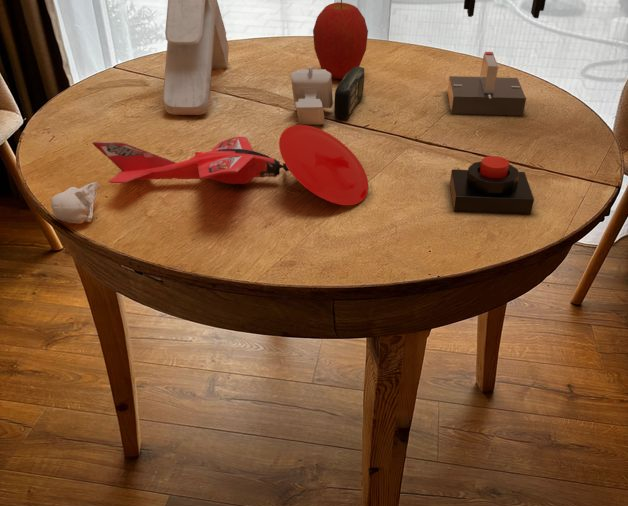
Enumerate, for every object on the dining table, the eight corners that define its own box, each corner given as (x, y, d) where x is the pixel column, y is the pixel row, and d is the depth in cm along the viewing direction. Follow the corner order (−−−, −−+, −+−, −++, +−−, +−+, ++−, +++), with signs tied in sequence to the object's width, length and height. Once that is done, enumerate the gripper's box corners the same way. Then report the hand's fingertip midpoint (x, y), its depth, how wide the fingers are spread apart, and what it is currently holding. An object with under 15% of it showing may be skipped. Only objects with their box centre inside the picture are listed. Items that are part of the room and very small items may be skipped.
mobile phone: (350, 92, 108) (368, 60, 119) (332, 90, 109) (352, 59, 120) (349, 121, 112) (367, 88, 122) (332, 120, 112) (351, 87, 123)
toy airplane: (302, 210, 83) (304, 169, 81) (75, 205, 79) (70, 162, 77) (283, 168, 107) (284, 135, 105) (107, 162, 103) (104, 128, 101)
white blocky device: (290, 56, 108) (285, 96, 105) (331, 56, 108) (328, 96, 104) (296, 97, 117) (291, 136, 113) (334, 98, 116) (331, 136, 112)
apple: (303, 73, 130) (302, -6, 121) (346, 64, 134) (349, -13, 125) (331, 90, 123) (332, 7, 114) (376, 80, 127) (381, -1, 118)
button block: (521, 186, 94) (527, 159, 91) (530, 214, 88) (537, 186, 85) (449, 183, 95) (453, 156, 92) (453, 211, 89) (457, 183, 86)
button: (505, 168, 90) (507, 156, 89) (508, 180, 88) (511, 168, 86) (478, 167, 90) (480, 155, 89) (480, 179, 88) (483, 167, 87)
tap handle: (493, 93, 113) (498, 64, 110) (484, 93, 113) (488, 64, 110) (488, 79, 118) (493, 51, 115) (479, 79, 118) (484, 51, 115)
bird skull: (118, 192, 89) (107, 168, 86) (87, 234, 85) (74, 210, 82) (83, 186, 91) (71, 162, 88) (51, 226, 87) (37, 202, 84)
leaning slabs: (186, 158, 130) (153, 95, 107) (195, 42, 134) (165, -42, 111) (225, 159, 129) (201, 96, 107) (233, 43, 133) (211, -42, 111)
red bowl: (381, 172, 96) (358, 199, 100) (304, 108, 94) (284, 139, 98) (350, 220, 86) (326, 248, 90) (263, 150, 84) (243, 182, 88)
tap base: (513, 93, 121) (517, 75, 119) (523, 117, 113) (527, 98, 111) (447, 91, 122) (449, 74, 120) (451, 115, 114) (453, 96, 112)
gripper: (461, -119, 89) (445, 20, 100) (596, -119, 87) (564, 23, 98) (458, -126, 94) (443, 7, 105) (584, -125, 93) (556, 10, 104)
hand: (502, 15), depth 102 cm, fingers open, 9 cm apart
